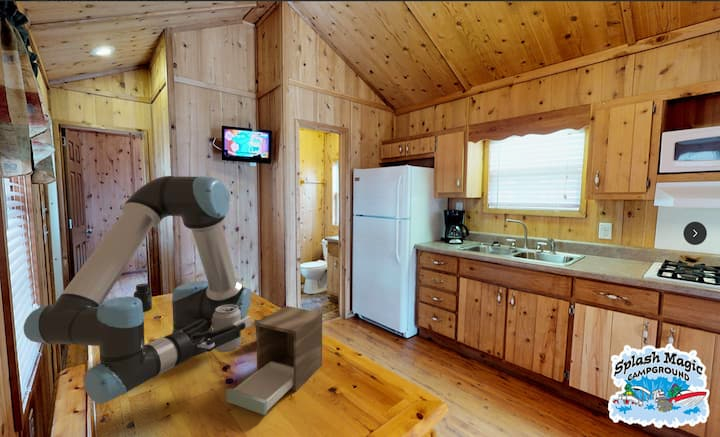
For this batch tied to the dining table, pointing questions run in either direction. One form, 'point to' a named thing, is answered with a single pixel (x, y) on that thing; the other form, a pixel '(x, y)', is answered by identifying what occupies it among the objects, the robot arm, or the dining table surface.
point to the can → (227, 324)
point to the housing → (291, 341)
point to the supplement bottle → (144, 296)
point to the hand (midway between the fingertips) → (239, 318)
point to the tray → (263, 387)
